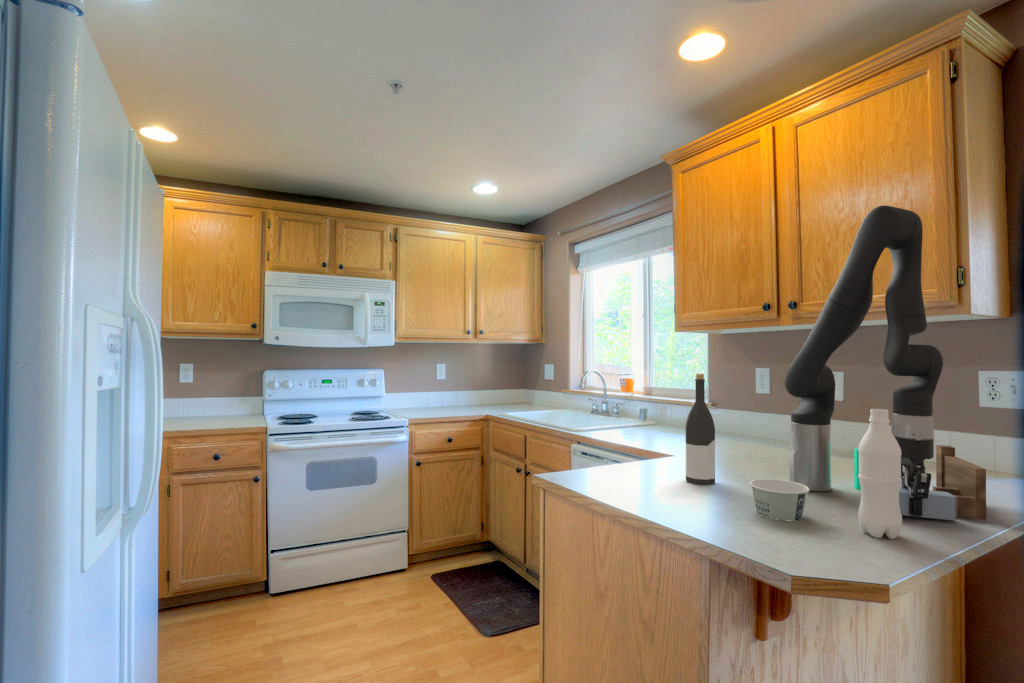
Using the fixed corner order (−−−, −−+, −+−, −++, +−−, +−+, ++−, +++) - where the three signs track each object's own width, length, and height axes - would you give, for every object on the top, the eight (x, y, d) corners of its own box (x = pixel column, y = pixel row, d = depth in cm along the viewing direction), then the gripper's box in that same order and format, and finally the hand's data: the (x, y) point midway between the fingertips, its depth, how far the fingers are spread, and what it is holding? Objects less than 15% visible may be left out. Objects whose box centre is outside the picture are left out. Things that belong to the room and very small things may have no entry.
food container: (737, 510, 122) (737, 481, 122) (775, 504, 127) (775, 476, 127) (783, 526, 111) (782, 495, 111) (822, 519, 116) (822, 489, 116)
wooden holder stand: (951, 516, 117) (950, 458, 117) (917, 495, 134) (917, 444, 134) (989, 520, 115) (988, 460, 115) (949, 497, 132) (949, 445, 132)
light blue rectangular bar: (877, 512, 117) (877, 490, 117) (871, 507, 121) (872, 485, 121) (957, 520, 113) (957, 497, 113) (948, 514, 116) (948, 492, 116)
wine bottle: (690, 476, 153) (689, 372, 153) (719, 480, 148) (718, 373, 149) (680, 482, 147) (680, 374, 147) (711, 487, 142) (710, 375, 142)
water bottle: (903, 543, 101) (903, 412, 101) (858, 536, 105) (858, 410, 105) (900, 532, 107) (899, 408, 107) (858, 526, 111) (857, 406, 111)
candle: (878, 487, 142) (878, 442, 142) (883, 493, 136) (883, 446, 136) (852, 485, 144) (852, 441, 144) (856, 490, 139) (856, 444, 139)
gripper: (881, 428, 125) (880, 501, 125) (904, 439, 111) (903, 520, 111) (919, 430, 122) (918, 505, 122) (947, 441, 109) (946, 524, 109)
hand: (911, 512), depth 117 cm, fingers closed on light blue rectangular bar, 4 cm apart
